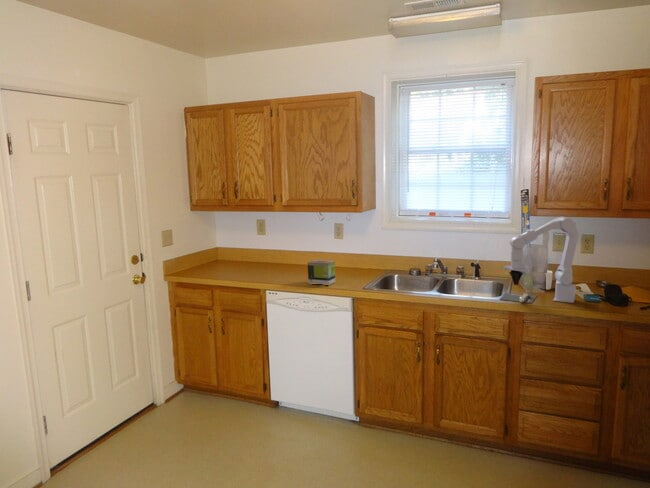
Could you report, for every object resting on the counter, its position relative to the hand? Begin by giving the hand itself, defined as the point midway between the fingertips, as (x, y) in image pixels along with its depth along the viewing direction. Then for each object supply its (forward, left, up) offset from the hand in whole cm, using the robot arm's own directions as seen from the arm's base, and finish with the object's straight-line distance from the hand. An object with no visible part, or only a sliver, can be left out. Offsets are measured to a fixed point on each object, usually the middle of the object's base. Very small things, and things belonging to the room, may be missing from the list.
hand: (516, 284), depth 253 cm
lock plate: (0, -4, -9) cm, 10 cm away
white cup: (-9, -32, -9) cm, 35 cm away
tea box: (+116, +14, -9) cm, 117 cm away
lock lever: (-4, -1, -8) cm, 9 cm away
